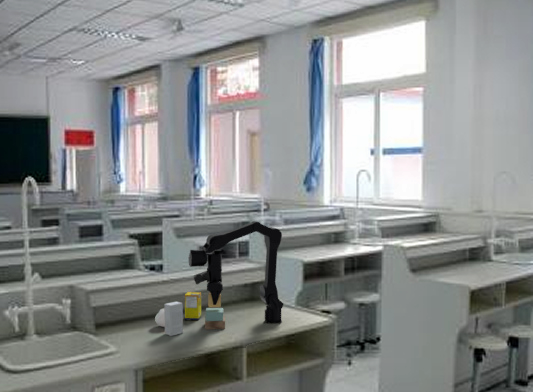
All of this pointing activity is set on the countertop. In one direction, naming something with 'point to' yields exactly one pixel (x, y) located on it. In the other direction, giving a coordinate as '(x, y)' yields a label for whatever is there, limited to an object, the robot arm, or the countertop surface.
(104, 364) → the countertop surface
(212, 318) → the tower top
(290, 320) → the countertop surface
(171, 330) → the skincare box
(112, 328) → the countertop surface
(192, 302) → the supplement box
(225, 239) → the robot arm
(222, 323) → the tower base
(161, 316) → the motion sensor
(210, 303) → the ochre block
